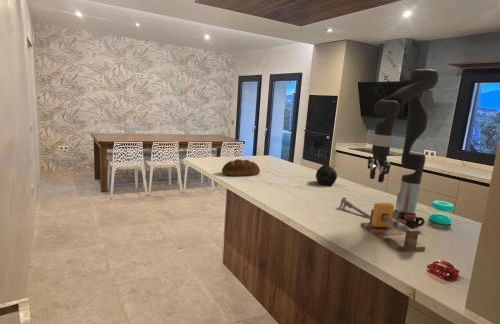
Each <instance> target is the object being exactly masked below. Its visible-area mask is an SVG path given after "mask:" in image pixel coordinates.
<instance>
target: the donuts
mask: <svg viewBox="0 0 500 324" xmlns="http://www.w3.org/2000/svg"><path fill="white" fill-rule="evenodd" d="M431 207H432V208H433V209H434V210H437V211H440V212H444V213H446V212H448V213H450V212H453V211H454V210H455V205H454V204H452V203H450V202H447V201H444V200H443V201H442V200H433V201H432V202H431ZM428 218H429V220H430V221H431V222H433V223H436V224H439V225H445V226H447V225H450V224H451V223H452V221H453V220H452V218H451V217H450V216H449V215H447V214H443V213H439V212H433V213H431V214H429V216H428Z"/></svg>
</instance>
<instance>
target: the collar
mask: <svg viewBox="0 0 500 324" xmlns="http://www.w3.org/2000/svg"><path fill="white" fill-rule="evenodd" d="M394 208H395V205H394V204H392V203H390V202H385V203H384V202H379V203H378V202H375V203H374V204H373V209H374V210H373V216H372V223H371V224H372V225H373V226H375V227H386V226H391V227H392V224H390V223H388V222H387V221H385V220H383V219H382V218H381V216H382V214H385V215H387V216H389V217H391V218H393V216H394V215H393V214H394V210H395V209H394Z"/></svg>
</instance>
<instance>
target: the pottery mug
mask: <svg viewBox="0 0 500 324" xmlns="http://www.w3.org/2000/svg"><path fill="white" fill-rule="evenodd" d="M396 219H397V220H398V219H400V220H403V221H405V223H402V224H403V225H405V226H407V227H409V228H411V229H418V228H419V227H422V226H424V225H425V223H426V221H425V219H424V218H423V217H419V216H417V214H416V212H415V213H411V212H400V213H399V212H398V216H397V217H396ZM420 221H421V222H420Z"/></svg>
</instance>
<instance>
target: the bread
mask: <svg viewBox="0 0 500 324" xmlns="http://www.w3.org/2000/svg"><path fill="white" fill-rule="evenodd" d="M221 173H222V174H223V175H224V176H229V175H230V176H231V177H250V176H251V177H252V176H256V175H259V174H260V173H261V169H260V167H259V165H258V164H257V163H256V162H254V161H251V160H249V159H244V160H243V159H239V158H237V159H235V160H230V161H228V162H226V163H225V164H224V165H223V167H222V168H221Z"/></svg>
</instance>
